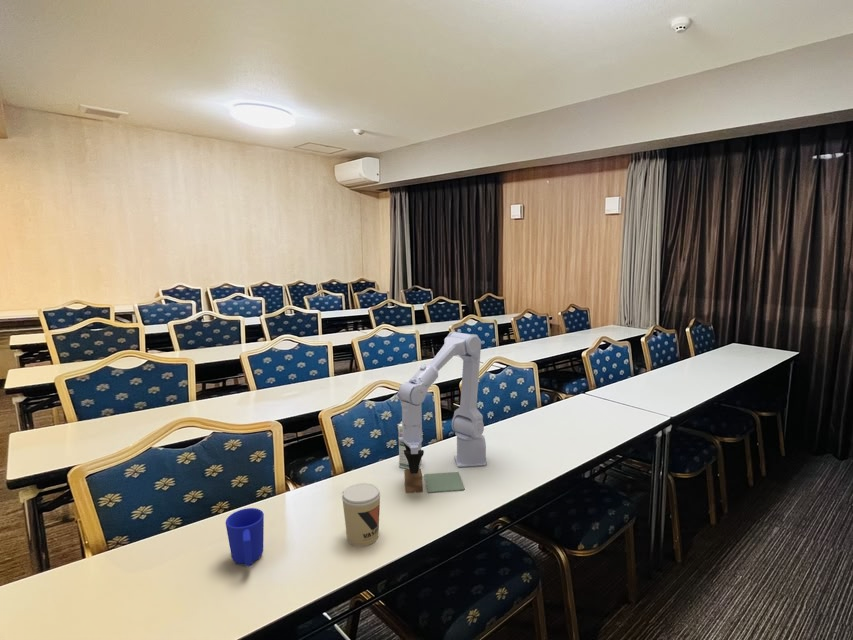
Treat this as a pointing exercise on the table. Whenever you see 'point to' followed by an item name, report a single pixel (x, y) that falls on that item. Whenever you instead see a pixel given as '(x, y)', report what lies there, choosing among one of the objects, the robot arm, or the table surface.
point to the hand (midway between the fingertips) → (412, 466)
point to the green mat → (444, 482)
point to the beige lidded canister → (361, 513)
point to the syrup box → (402, 457)
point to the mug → (246, 535)
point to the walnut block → (413, 481)
